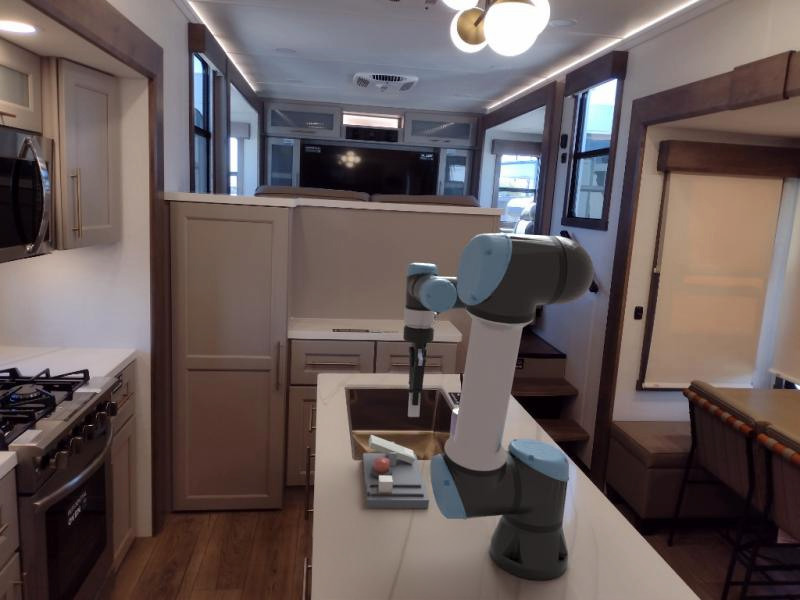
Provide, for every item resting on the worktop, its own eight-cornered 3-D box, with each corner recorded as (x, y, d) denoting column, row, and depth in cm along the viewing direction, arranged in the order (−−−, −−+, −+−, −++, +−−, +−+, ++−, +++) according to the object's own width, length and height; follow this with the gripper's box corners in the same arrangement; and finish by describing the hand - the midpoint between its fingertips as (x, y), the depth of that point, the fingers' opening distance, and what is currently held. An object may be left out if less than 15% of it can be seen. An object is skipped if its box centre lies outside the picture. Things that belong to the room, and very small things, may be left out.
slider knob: (392, 493, 133) (392, 481, 132) (378, 493, 132) (379, 481, 132) (390, 487, 136) (391, 475, 135) (378, 487, 135) (378, 475, 135)
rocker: (412, 464, 148) (415, 458, 148) (369, 448, 146) (372, 442, 146) (410, 455, 153) (412, 449, 153) (368, 439, 151) (371, 434, 151)
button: (389, 473, 140) (390, 463, 140) (374, 473, 140) (375, 463, 139) (388, 466, 144) (388, 457, 143) (373, 466, 143) (374, 457, 143)
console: (428, 508, 131) (430, 485, 130) (366, 508, 130) (367, 485, 129) (415, 460, 155) (416, 441, 154) (362, 460, 153) (363, 440, 152)
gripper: (438, 331, 138) (431, 425, 142) (430, 320, 151) (424, 407, 155) (407, 330, 137) (401, 425, 141) (401, 319, 150) (396, 406, 154)
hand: (413, 415), depth 148 cm, fingers closed
